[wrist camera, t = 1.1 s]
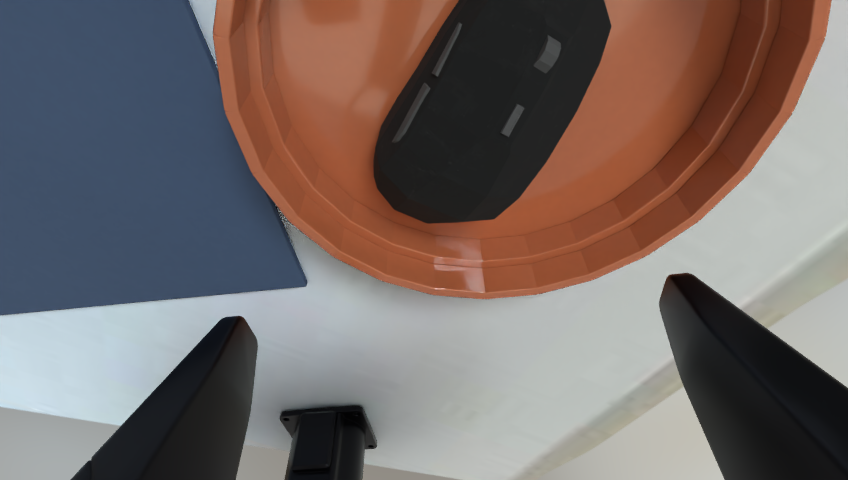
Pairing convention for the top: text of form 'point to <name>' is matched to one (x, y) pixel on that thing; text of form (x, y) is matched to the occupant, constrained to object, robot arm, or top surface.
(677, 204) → the terracotta plant saucer
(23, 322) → the top surface
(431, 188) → the gaming mouse
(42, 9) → the mouse mat
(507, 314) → the top surface
